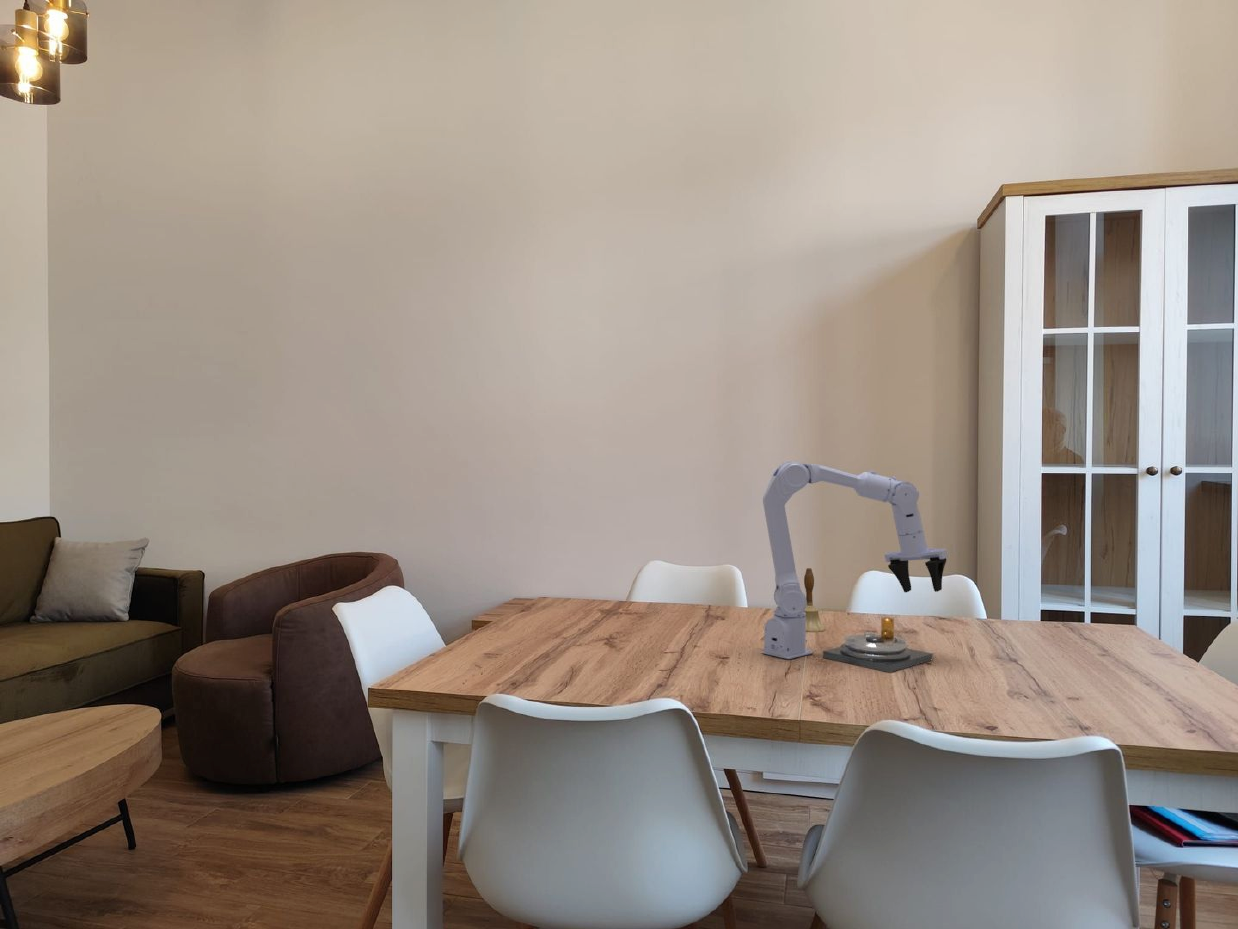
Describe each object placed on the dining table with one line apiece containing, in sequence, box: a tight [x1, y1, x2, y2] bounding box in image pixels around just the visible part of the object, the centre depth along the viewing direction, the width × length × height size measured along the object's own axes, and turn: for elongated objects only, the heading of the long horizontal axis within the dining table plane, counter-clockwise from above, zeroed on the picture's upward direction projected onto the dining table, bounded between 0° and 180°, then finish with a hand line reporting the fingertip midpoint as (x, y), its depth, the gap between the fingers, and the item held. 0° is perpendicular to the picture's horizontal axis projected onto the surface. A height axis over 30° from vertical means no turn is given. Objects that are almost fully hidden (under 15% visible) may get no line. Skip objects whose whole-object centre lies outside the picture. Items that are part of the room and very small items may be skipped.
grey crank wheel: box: [844, 616, 907, 654], centre depth 189 cm, size 13×13×6 cm
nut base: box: [822, 642, 933, 674], centre depth 190 cm, size 17×17×3 cm
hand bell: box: [803, 567, 826, 633], centre depth 223 cm, size 8×8×16 cm
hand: (922, 591), depth 193 cm, fingers open, 7 cm apart
